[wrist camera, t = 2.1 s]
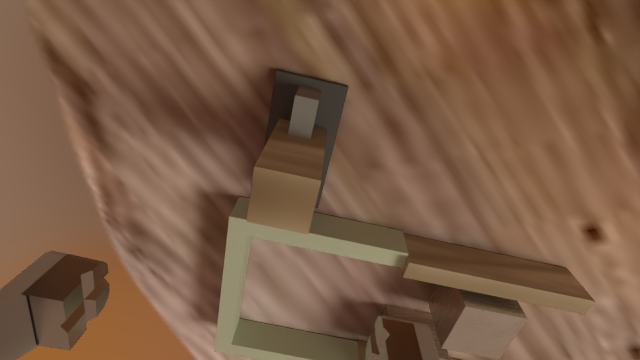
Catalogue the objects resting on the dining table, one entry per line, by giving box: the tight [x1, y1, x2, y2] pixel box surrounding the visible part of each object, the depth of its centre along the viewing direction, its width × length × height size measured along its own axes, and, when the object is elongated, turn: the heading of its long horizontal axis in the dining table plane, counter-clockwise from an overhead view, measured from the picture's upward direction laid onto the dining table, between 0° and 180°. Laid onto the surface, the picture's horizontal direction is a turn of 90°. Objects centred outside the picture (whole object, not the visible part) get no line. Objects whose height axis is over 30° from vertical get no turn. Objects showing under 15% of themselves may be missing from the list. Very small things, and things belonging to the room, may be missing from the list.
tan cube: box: [428, 284, 527, 359], centre depth 24 cm, size 4×4×4 cm
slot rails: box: [358, 234, 595, 360], centre depth 25 cm, size 12×12×3 cm
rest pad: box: [265, 69, 348, 208], centre depth 21 cm, size 8×4×1 cm, turn 168°
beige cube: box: [374, 304, 450, 360], centre depth 26 cm, size 4×4×4 cm
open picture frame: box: [214, 197, 409, 360], centre depth 25 cm, size 13×11×2 cm
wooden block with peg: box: [247, 86, 327, 235], centre depth 18 cm, size 7×3×6 cm, turn 168°
